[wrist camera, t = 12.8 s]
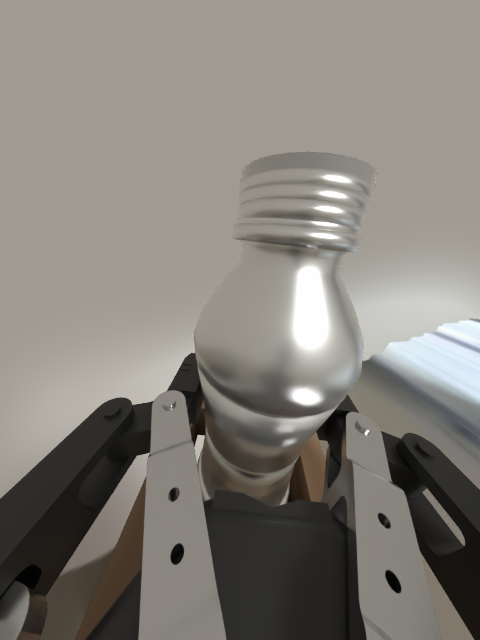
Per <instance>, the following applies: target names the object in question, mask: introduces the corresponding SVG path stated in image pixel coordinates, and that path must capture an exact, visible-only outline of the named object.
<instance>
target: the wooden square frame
mask: <svg viewBox="0 0 480 640" xmlns="http://www.w3.org/2000/svg"><path fill="white" fill-rule="evenodd" d="M190 432H191V438H192V440H193V444H194V446H195V442H196V439H197V435H205V433H206V422H205V404H204V400H203V403H202V407H201V410H200V414H199V417H198V420H197V424H191V425H190ZM325 467H326V460H325V457H324V454H323V451H322V448H321V445H320V442H319V439H318V436H317V433H316V432H315V434H314V435H313V436H312V437H311V438H310V439H309V441H308V442H307V444H306V446H305V448H304V449H303V451H302V452H301V454H300V456H299V458H298V459H297V461H296V463H295V464H294V468H293V471H292V475H291V478H290V487H289V489H290V495H291V502H294V501H298V500H305V501H313V502H321V499H322V495H323V490H324V479H325ZM146 477H147V476H146ZM145 497H146V478H145V480H144V483H143V485H142V487H141V490H140V492H139V494H138V496H137V499H136V501H135V503H134V505H133V508H132V510H131V512H130V515H129V517H128V519H127V521H126V524H125V526H124V528H123V531H122V533H121V536H120V538H119V540H118V542H117V544H116V547H115V549H114V551H113V554H112V556H111V558H110V560H109V563H108V565H107V567H106V570H105V572H104V574H103V576H102V579H101V581H100V583H99V586H98V588H97V590H96V592H95V595H94V597H93V599H92V602H91V604H90V606H89V608H88V611H87V613H86V615H85V618H84V620H83V622H82V624H81V627H80V629H79V631H78V634H77V636H76V638H75V640H85V639H86V638H87V636H88V635H89V634H90V633H91V631H92V630H93V629H94V627H95V626H96V625H97V624H98V622H99V621H100V620H101V619H102V617H103V616H104V615H105V613H106V612H107V611H108V610H109V608H110V607H111V606H112V605H113V603H114V602H115V601H116V599H117V598H118V597H119V596H120V594H121V593H122V592H123V591H124V589H125V588H126V587H127V585H128V584H129V583H130V582H131V580H132V579H133V578H134V577H135V575H136V574H137V573H138V571H139V570H140V569H141V568H142V559H143V538H144V518H145Z"/></svg>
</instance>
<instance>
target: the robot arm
mask: <svg viewBox="0 0 480 640" xmlns="http://www.w3.org/2000/svg"><path fill="white" fill-rule="evenodd" d="M203 400H204V398H203V393H202V388H201V382H200V377H199V371H198V366H197V360H196V353H191V354H189V355H188V356H187V357H186V358H185V359H184V361H183V363H182V365H181V366H180V368H179V370H178V372H177V374H176V376H175V377H174V379H173V381H172V383H171V385H170V386H169V388H168V390H167V391H166V392H164V393H162V394H160V395H159V396H158V397H157V398H156V399H155V400H154V401H152V402H148V403H142V404H136V405H132V403H131V401H130V400H129V399H127V398H115V399H112V400H109V401H107V402H105V403H104V404H102V405H101V406H99V407H98V408H97V409H96V410H95V411H94V412H93V413H92V414H91V415H90V416H89V417H88V418H87V419H85V420H84V421H83V422H82V423H81V424H80V425H79V426H78V427H77V428H76V429H75V430H74V431H73V432H72V433H71V434H69V435H68V436H67V437H66V438H65V439H64V440H63V441H62V442H61V443H60V444H59V445H58V446H57V447H56V448H54V449H53V450H52V451H51V452H50V453H49V454H48V455H47V456H46V457H45V458H44V459H43V460H42V461H40V462H39V463H38V464H37V465H36V466H35V467H34V468H33V469H32V470H31V471H30V472H29V473H28V474H27V475H26V476H25V477H23V478H22V479H21V480H20V481H19V482H18V483H17V484H16V485H15V486H14V487H13V488H12V489H11V490H9V491H8V492H7V493H6V494H5V495H4V496H3V497H2V498H1V499H0V640H39V638H40V636H41V633H42V630H43V627H44V624H45V620H46V614H47V602H46V598H45V596H46V595H47V593H48V592H49V590H50V589H51V587H52V585H53V584H54V582H55V581H56V579H57V578H58V576H59V575H60V573H61V572H62V570H63V569H64V567H65V565H66V564H67V562H68V561H69V559H70V558H71V556H72V555H73V553H74V551H75V550H76V548H77V547H78V545H79V544H80V542H81V541H82V539H83V538H84V536H85V535H86V533H87V532H88V530H89V528H90V527H91V525H92V524H93V522H94V521H95V519H96V518H97V516H98V515H99V513H100V512H101V510H102V508H103V507H104V505H105V504H106V502H107V501H108V499H109V498H110V496H111V495H112V493H113V492H114V490H115V489H116V487H117V485H118V483H119V482H120V481H121V479H122V478H123V476H124V475H125V473H126V472H127V470H128V468H129V467H130V465H131V464H132V462H133V461H134V459H135V458H136V456H137V455H142V454H146V453H150V455H149V456H148V461H147V477H146V497H145V518H144V538H143V559H142V568H141V569H140V570H139V571H138V573H137V574H136V575H135V577H134V578H133V579H132V580H131V582H130V583H129V584H128V585H127V587H126V588H125V589H124V591H123V592H122V593H121V594H120V596H119V597H118V598H117V599H116V601H115V602H114V603H113V605H112V606H111V607H110V608H109V610H108V611H107V612H106V613H105V615H104V616H103V617H102V619H101V620H100V621H99V622H98V624H97V625H96V626H95V627H94V629H93V630H92V631H91V633H90V634H89V635H88V636H87V638H86V639H85V640H442V638H441V634H440V630H439V626H438V622H437V618H436V614H435V610H434V606H433V602H432V598H431V594H430V590H429V586H428V582H427V578H426V574H425V570H424V566H423V562H422V558H421V554H420V552H421V553H422V555H423V557H424V558H425V560H426V562H427V563H428V565H429V566H430V568H431V570H432V571H433V573H434V575H435V576H436V578H437V579H438V581H439V583H440V584H441V586H442V588H443V589H444V591H445V592H446V594H447V596H448V597H449V599H450V601H451V602H452V604H453V605H454V607H455V609H456V610H457V612H458V614H459V615H460V617H461V618H462V620H463V622H464V623H465V625H466V627H467V628H468V630H469V631H470V633H471V635H472V636H473V638H474V640H480V490H479V489H478V488H477V487H476V486H475V485H474V484H473V483H472V482H471V481H470V480H469V479H468V478H467V477H466V476H465V475H464V474H463V473H462V472H461V471H460V470H459V469H458V468H457V467H456V466H455V465H454V464H453V463H452V462H451V461H450V460H449V459H448V458H447V457H446V456H445V455H444V454H443V453H442V452H441V451H440V450H439V449H438V448H437V447H436V446H435V445H433V444H432V443H431V442H429V441H428V440H426V439H425V438H423V437H421V436H419V435H416V434H413V433H406V434H405V435H404V436H403V437H402V438H401V439H400V438H397V437H395V436H392V435H390V434H387V433H385V432H382V431H380V429H379V428H378V426H377V425H376V424H375V423H374V422H373V421H372V420H371V419H369V418H368V417H366V416H365V415H363V414H360V413H359V412H358V410H357V409H356V407H355V406H354V404H353V402H352V401H351V399H350V398H349V396H348V394H347V396H346V397H345V399H344V400H343V401H342V402H341V403H340V404H339V406H338V407H337V408H336V409H335V410H334V412H333V413H332V414H331V415H330V416H329V417H328V419H327V420H326V421H325V422H324V423H323V424H322V425H321V427H320V428H319V429H318V430H317V431H316V433H317V436H318V439H319V440H325V441H328V444H329V447H328V449H327V455H326V467H325V479H324V490H323V495H322V499H321V502H313V501H305V500H298V501H294V502H290V503H286V504H283V505H279V506H275V507H271V506H268V505H266V504H264V503H262V502H260V501H258V500H256V499H254V498H252V497H250V496H248V495H246V494H244V493H240V492H232V491H224V490H216V489H215V493H214V498H213V499H209V500H206V501H204V502H203V500H202V493H201V487H200V481H199V475H198V469H197V462H196V457H195V450H194V444H193V440H192V438H191V432H190V425H191V424H197V420H198V417H199V414H200V410H201V407H202V403H203ZM427 488H428V490H429V491H430V492H431V493H432V495H433V496H434V497H435V498H436V500H437V501H438V502H439V503H440V505H441V506H442V507H443V508H444V510H445V511H446V512H447V513H448V515H449V516H450V517H451V518H452V520H453V521H454V522H455V523H456V525H457V526H458V527H459V529H460V530H461V532H462V534H463V536H464V539H465V546H463V545H462V544H461V542H460V541H459V540H458V539H457V537H456V536H455V535H454V534H453V532H452V531H451V530H450V528H449V527H448V526H447V524H446V523H445V522H444V520H443V519H442V518H441V517H440V515H439V514H438V513H437V511H436V510H435V509H434V507H433V506H432V505H431V503H430V502H429V501H428V500H427V498H426V497H425V496H424V494H423V493H422V492H423V491H424V490H425V489H427Z"/></svg>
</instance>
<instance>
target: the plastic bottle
mask: <svg viewBox="0 0 480 640" xmlns="http://www.w3.org/2000/svg"><path fill="white" fill-rule="evenodd" d="M376 177H377V172H376V170H375V168H374V167H372V166H371V165H369V164H368V163H366V162H364V161H361V160H359V159H356V158H352V157H348V156H344V155H338V154H330V153H318V152H316V153H315V152H298V153H284V154H277V155H272V156H268V157H264V158H260V159H258V160H255V161H252V162H251V163H249V164H248V165H247V166H245V167H244V169H243V170H242V178H241V179H240V195H239V209H238V224H235V225H234V237H233V238H234V239H237V240H241V242H242V250H241V254H240V258H239V261H238V262H237V263H236V265H235V266H234V267H233V268H232V269H231V271H230V272H229V273H228V274H227V275H226V276H225V278H224V279H223V280H222V281H221V282H220V284H219V285H218V286H217V287H216V289H215V290H214V292H213V293H212V295H211V296H210V298H209V299H208V301H207V302H206V304H205V305H204V307H203V309H202V311H201V313H200V316H199V320H198V322H197V326H196V329H195V332H194V342H195V353H196V360H197V366H198V371H199V377H200V382H201V388H202V393H203V398H204V404H205V422H206V433H205V439H204V445H203V449H202V451H201V454H200V457H199V460H198V464H197V469H198V475H199V481H200V487H201V493H202V500H203V502H204V501H206V500H209V499H213V498H214V493H215V489H216V490H224V491H232V492H240V493H244V494H246V495H248V496H250V497H252V498H254V499H256V500H258V501H260V502H262V503H264V504H266V505H268V506H271V507H275V506H279V505H283V504H286V503H287V501H288V496H289V487H290V478H291V475H292V471H293V468H294V464H295V463H296V461H297V459H298V458H299V456H300V454H301V452H302V451H303V449H304V448H305V446H306V444H307V442H308V441H309V439H310V438H311V437H312V436H313V435H314V434H315V432H316V431H317V430H318V429H319V428H320V427H321V425H322V424H323V423H324V422H325V421H326V420H327V419H328V417H329V416H330V415H331V414H332V413H333V412H334V410H335V409H336V408H337V407H338V406H339V404H340V403H341V402H342V401H343V400H344V399H345V397H346V396H347V394H348V393H349V391H350V390H351V388H352V387H353V386H354V384H355V383H356V381H357V379H358V378H359V376H360V374H361V368H362V357H363V336H362V333H361V329H360V326H359V323H358V319H357V316H356V312H355V310H354V307H353V305H352V303H351V300H350V298H349V295H348V293H347V291H346V288H345V286H344V283H343V281H342V279H341V276H340V270H341V263H342V259H343V256H344V255H345V254H346V253H347V252H353V253H357V250H358V247H359V244H360V241H361V238H362V236H359V232H360V229H361V226H362V223H363V220H364V217H365V214H366V212H367V209H368V206H369V203H370V199H371V197H372V194H373V191H374V188H375V180H376Z"/></svg>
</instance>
